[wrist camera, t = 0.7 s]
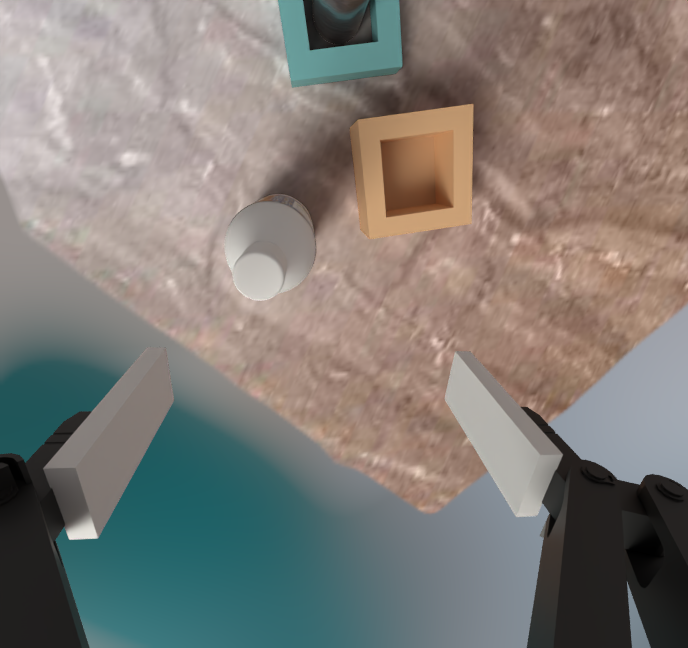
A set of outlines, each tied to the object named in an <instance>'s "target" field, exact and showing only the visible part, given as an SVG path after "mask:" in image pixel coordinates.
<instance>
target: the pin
mask: <svg viewBox="0 0 688 648" xmlns="http://www.w3.org/2000/svg"><path fill="white" fill-rule="evenodd" d="M368 2H369V0H313V6H312V16H313V22H314V25H315V28H316V30H317V32H318V33H319V34H320V36H321V37H322V38H323V39H324V40H326V41H327V42H329V43H331V44H336V45H339V44H344V43H347V42H348V41H350V40H351V39H352V38H353V37H354V36H355V35H356V33H357V31H358V29H359V27H360V24H361V21H362V19H363V16H364V13H365V10H366V8H367V5H368Z"/></svg>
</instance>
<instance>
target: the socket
mask: <svg viewBox="0 0 688 648" xmlns="http://www.w3.org/2000/svg"><path fill="white" fill-rule="evenodd" d="M349 129H350V138H351V147H352V156H353V165H354V175H355V184H356V193H357V202H358V211H359V220H360V230H361V231H362V232H363V233H364V234H365V235H366V236H367V237H368V238H369V239H375V238H381V237H388V236H394V235H401V234H407V233H414V232H421V231H427V230H434V229H440V228H447V227H453V226H460V225H467V224H471V221H472V161H473V104H468V105H461V106H454V107H446V108H439V109H432V110H424V111H417V112H410V113H403V114H395V115H388V116H381V117H373V118H366V119H359V120H357V121H356V122H355V123H354V124H353V125H352V126H351V127H350V128H349Z"/></svg>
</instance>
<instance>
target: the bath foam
mask: <svg viewBox="0 0 688 648" xmlns="http://www.w3.org/2000/svg"><path fill="white" fill-rule="evenodd" d="M225 256H226V260H227V263H228V265H229V267H230V269H231V271H232V276H233V281H234V284H235V286H236V288H237V289H238V291H239V292H240V293H241V294H243V295H244V296H245V297H247V298H249V299H252V300H257V301H263V300H268V299H271V298H273V297H274V296H276V295H277V294H278V293H282V292H286V291H288V290H290V289H292V288H294V287H296V286H297V285H299V284H300V283H301V282H302V281H303V280H304V279H305V278H306V276H307V275H308V274H309V272H310V270H311V268H312V266H313V264H314V261H315V256H316V241H315V235H314V229H313V223H312V219H311V216H310V214H309V212H308V211H307V209H306V208H305V207H304V205H303V204H302V203H301V202H299V201H298V200H297V199H295V198H293V197H291V196H288V195H284V194H273V195H269V196H266V197H264V198H261V199H260V200H258V201H256V202H254V203H253V204H251V205H249V206H247V207H245V208H244V209H242V210H241V211H240V212H239V213H238V214H237V215H236V216H235V217H234V218H233V220H232V221H231V223H230V225H229V227H228V230H227V233H226V237H225Z"/></svg>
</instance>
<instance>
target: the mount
mask: <svg viewBox="0 0 688 648" xmlns="http://www.w3.org/2000/svg"><path fill="white" fill-rule="evenodd" d="M278 3H279V10H280V16H281V22H282V28H283V34H284V41H285V47H286V53H287V59H288V66H289V72H290V78H291V84H292V87H300V86H307V85H315V84H322V83H330V82H337V81H345V80H352V79H360V78H368V77H375V76H383V75H390V74H396V73H397V72H398V71H399V70H400V69H401V68H402V47H401V28H400V8H399V0H369V3H370V16H371V28H372V41H373V42H371V43H364V44H356V45H348V46H340V47H332V48H324V49H317V50H310V49H309V41H308V34H307V27H306V20H305V12H304V5H303V0H278Z"/></svg>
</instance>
